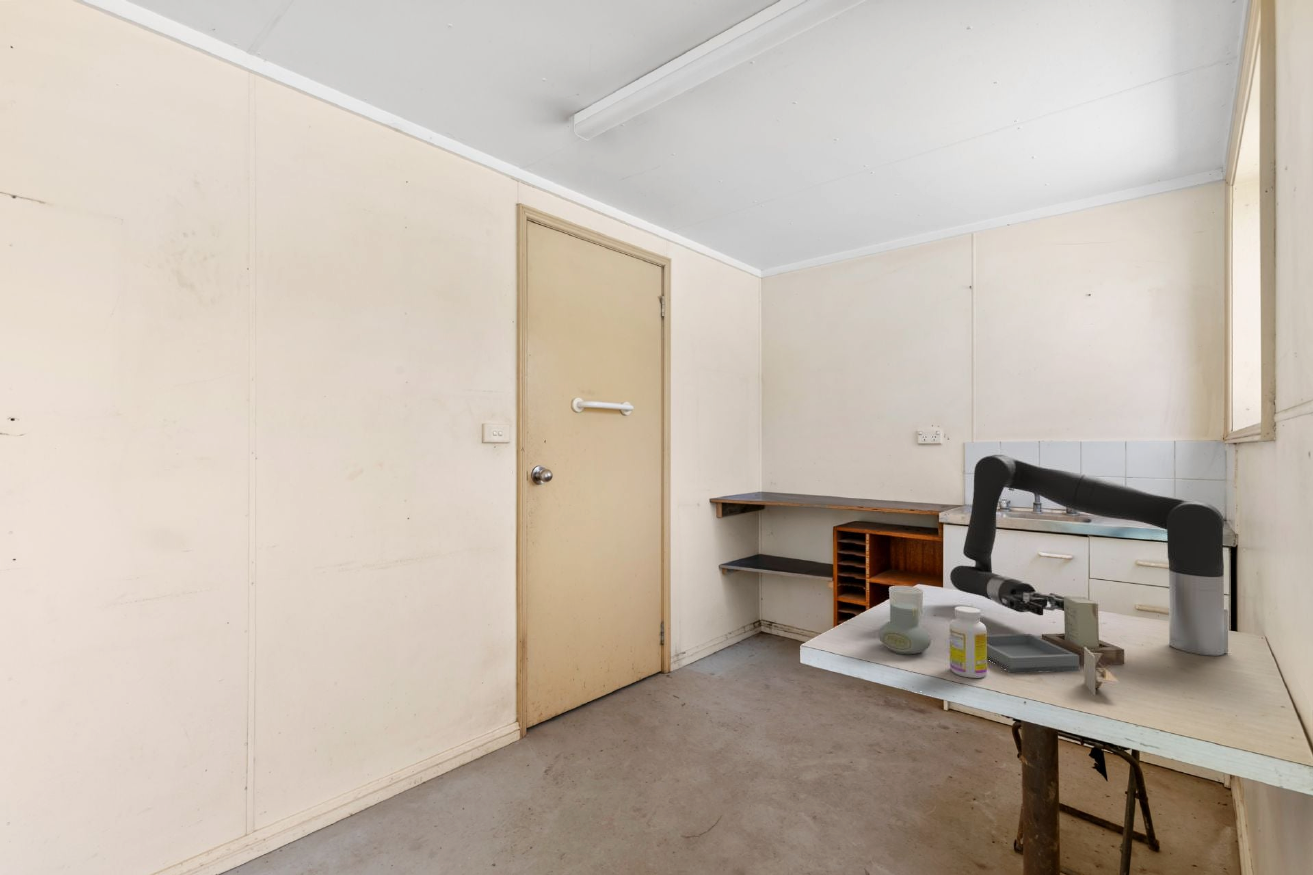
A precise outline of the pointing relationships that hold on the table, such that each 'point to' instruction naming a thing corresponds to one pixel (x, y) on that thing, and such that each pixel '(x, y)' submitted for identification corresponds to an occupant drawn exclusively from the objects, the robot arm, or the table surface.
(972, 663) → the supplement bottle
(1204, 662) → the table surface
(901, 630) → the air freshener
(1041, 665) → the slate tray
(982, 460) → the robot arm
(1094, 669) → the architectural model
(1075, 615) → the skincare box
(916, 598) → the white cup
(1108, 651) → the walnut collar
